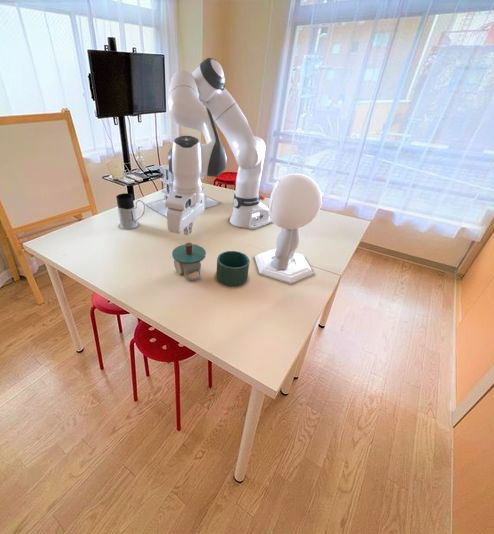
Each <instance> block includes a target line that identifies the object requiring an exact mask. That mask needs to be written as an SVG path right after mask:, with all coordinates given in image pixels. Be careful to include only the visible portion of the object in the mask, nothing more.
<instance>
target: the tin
mask: <svg viewBox="0 0 494 534" xmlns="http://www.w3.org/2000/svg"><path fill="white" fill-rule="evenodd" d="M250 262H251V261H250V257H249V256H248V255H246V254H245V253H243V252H241V251H236V250H227V251H224V252H221V253H219V254H218V255H217V258H216V274H215V275H216V276H215V277H216V280H217V281H218V283H220V284H221V285H223V286H225V287H228V288H229V287H230V288H236V287H241V286H244V284H246V283H247V281H248V278H249V270H250Z"/></svg>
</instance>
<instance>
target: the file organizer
mask: <svg viewBox="0 0 494 534" xmlns="http://www.w3.org/2000/svg"><path fill="white" fill-rule="evenodd" d="M158 168H161V169H163V177H161V178H159V182H163V183H164V189H163V190H162V189H161V190H160V194H162V195H164V199H161V200H158V201H154V202H151V203H146V206H147V207H150V208H151V209H152V210H155V211H156V212H158V213H159V214H162V216H164V217H166V218H167V209H168V207H166V205H165V201H166V199H167V198H168V197H169V195H170V193H171V191H172V190H173V181H174V175H173V174H172V173H171V172H170V171H169V163H168V164H163V165H158ZM203 179H205V176H200V180H203ZM201 187H202V188H201V189H202V192H204V191H205V188H204V187H203V186H201ZM204 202H205V208H204V209H208V208H210V207H213V206H216V205H219V204H220V202H219V201H217V200H215V199H212V198H209V197H207V196H205V195H204Z"/></svg>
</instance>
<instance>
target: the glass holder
mask: <svg viewBox="0 0 494 534" xmlns="http://www.w3.org/2000/svg"><path fill="white" fill-rule="evenodd" d="M138 202H141V203H142V205H143V212H142V214H141V215H140V216H139V217H138V218H137V214H136V209H137V208H138ZM116 205H117V211H118V212H117V213H118V218H119V222H120V225H119V227H120V229H122V230H132V229H135V228H137V227H138V226H139V224H138V220H140V219H141V218H142V217H143V216H144V214H145V211H146V204H145V202H144V201H143V200H141V199H138V200H136V202H135V201H134V195H133V194H132V193H126V192H124V193H120V194H117V195H116Z"/></svg>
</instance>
